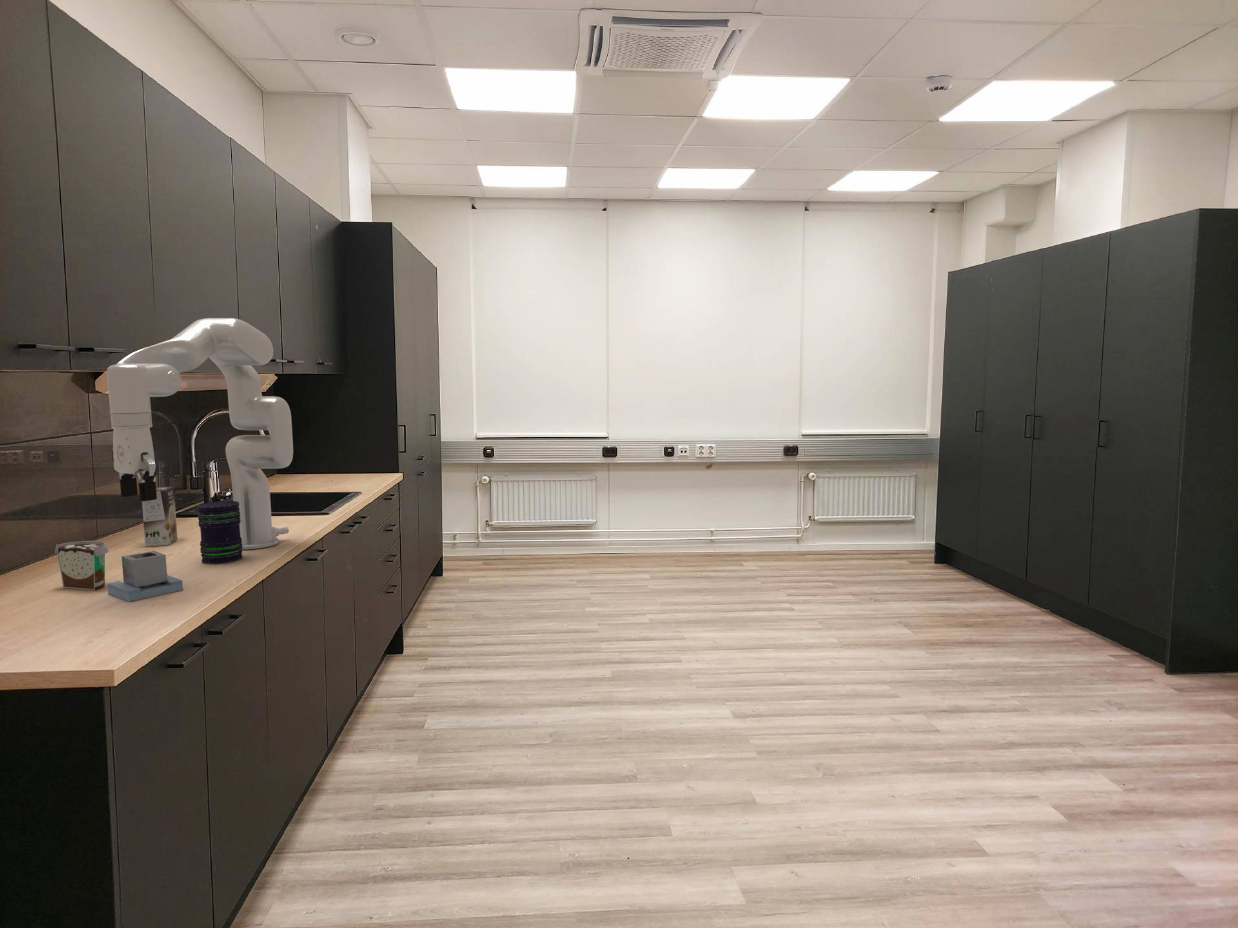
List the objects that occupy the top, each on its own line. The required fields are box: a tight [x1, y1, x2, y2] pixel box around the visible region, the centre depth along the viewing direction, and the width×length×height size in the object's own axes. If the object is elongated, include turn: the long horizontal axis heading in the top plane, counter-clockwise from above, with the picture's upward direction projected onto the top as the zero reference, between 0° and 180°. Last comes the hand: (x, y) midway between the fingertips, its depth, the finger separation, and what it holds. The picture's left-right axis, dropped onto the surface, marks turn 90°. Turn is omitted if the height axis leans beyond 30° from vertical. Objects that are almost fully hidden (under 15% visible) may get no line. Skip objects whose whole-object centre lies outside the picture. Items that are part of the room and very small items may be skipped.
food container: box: [54, 540, 109, 591], centre depth 174 cm, size 12×6×10 cm, turn 74°
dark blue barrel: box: [197, 500, 244, 565], centre depth 198 cm, size 10×10×15 cm
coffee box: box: [141, 486, 178, 547], centre depth 219 cm, size 9×6×16 cm
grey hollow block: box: [121, 550, 168, 587], centre depth 169 cm, size 7×7×6 cm
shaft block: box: [106, 574, 184, 603], centre depth 169 cm, size 11×11×8 cm
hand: (138, 498), depth 167 cm, fingers open, 9 cm apart
